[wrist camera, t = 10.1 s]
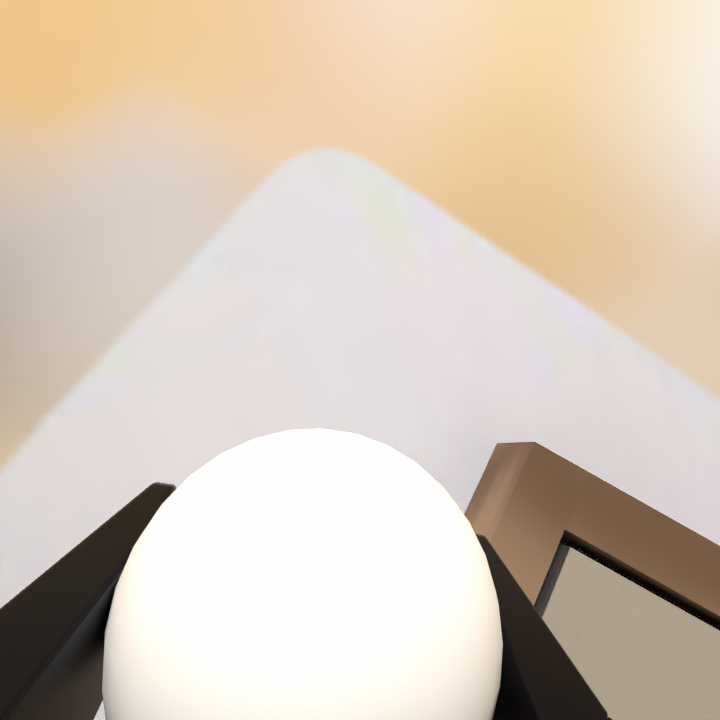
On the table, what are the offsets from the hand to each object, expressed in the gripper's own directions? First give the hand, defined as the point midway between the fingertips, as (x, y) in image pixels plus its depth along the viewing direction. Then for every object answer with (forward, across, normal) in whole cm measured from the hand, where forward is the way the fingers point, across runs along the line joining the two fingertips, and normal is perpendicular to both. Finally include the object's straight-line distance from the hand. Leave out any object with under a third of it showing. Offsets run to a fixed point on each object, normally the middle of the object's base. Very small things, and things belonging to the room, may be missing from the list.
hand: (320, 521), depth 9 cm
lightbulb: (+4, 0, +6) cm, 7 cm away
